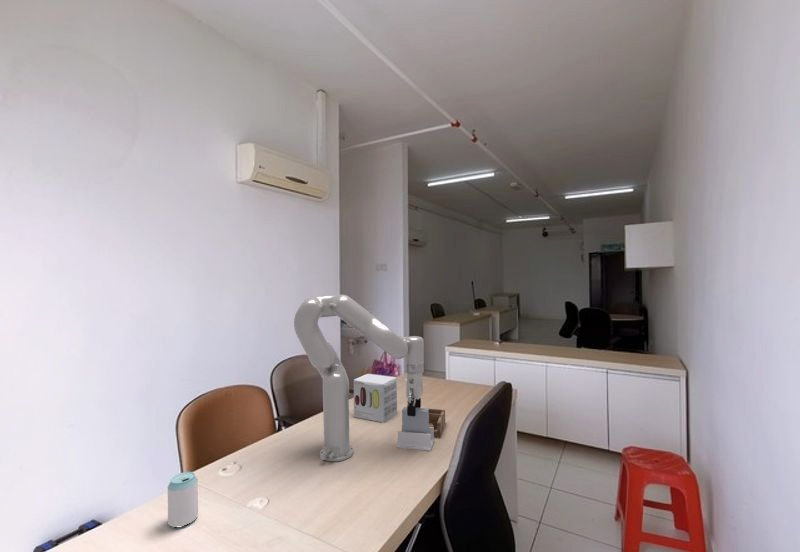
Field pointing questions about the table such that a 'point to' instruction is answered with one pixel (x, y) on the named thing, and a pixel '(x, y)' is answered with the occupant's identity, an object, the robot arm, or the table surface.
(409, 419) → the sheet
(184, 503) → the can
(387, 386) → the supplement box
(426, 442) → the stand
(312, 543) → the table surface
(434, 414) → the box
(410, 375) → the robot arm
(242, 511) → the table surface
